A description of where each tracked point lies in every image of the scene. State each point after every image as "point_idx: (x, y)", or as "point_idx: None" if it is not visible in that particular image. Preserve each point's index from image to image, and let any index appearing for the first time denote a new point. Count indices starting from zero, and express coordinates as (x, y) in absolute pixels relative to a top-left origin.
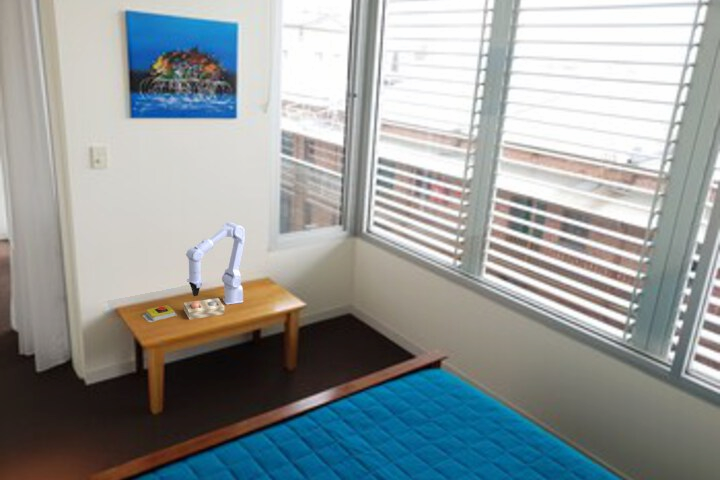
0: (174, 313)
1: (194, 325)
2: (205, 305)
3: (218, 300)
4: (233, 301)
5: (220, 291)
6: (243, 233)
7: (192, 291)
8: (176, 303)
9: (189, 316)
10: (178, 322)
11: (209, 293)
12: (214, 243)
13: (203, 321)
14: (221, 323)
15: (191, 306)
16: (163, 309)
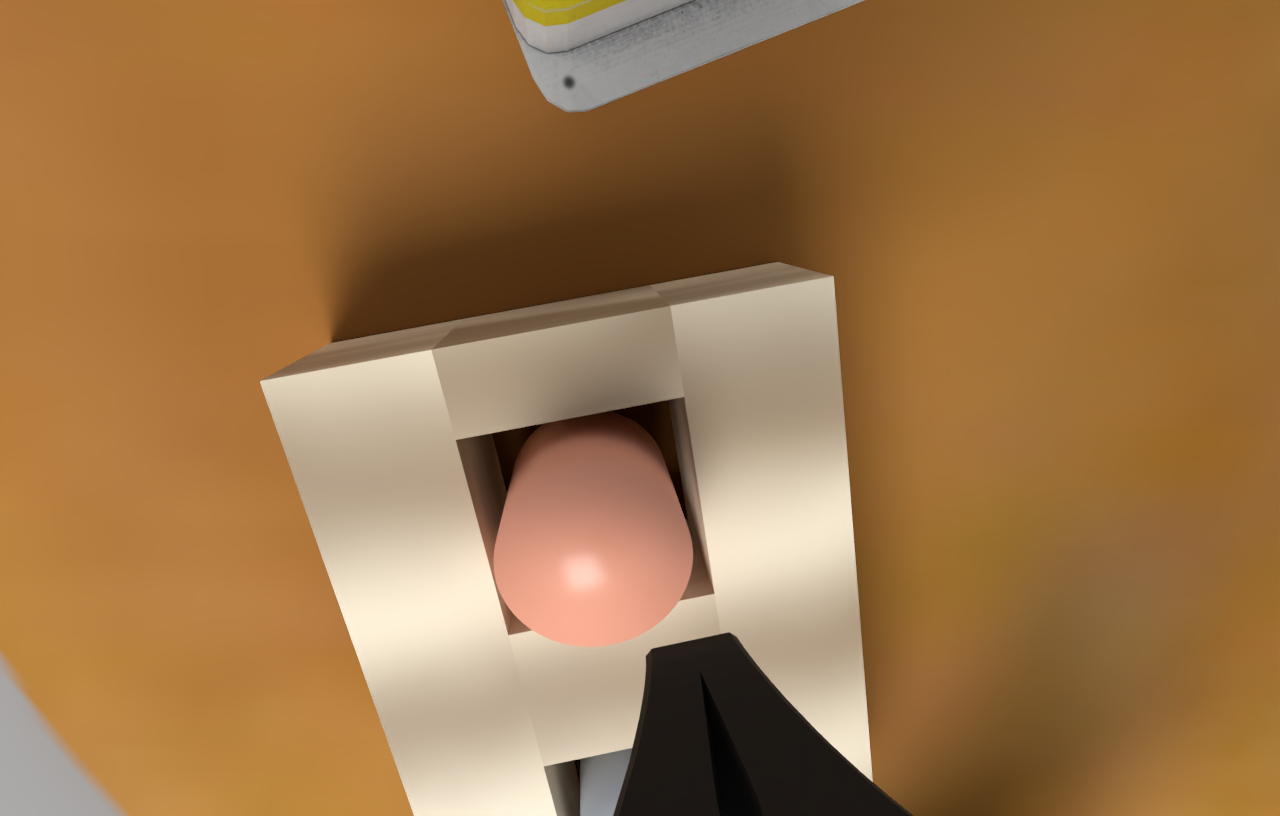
0: (643, 57)
1: (62, 422)
2: (593, 707)
3: None
4: None
5: (1261, 810)
6: None
7: (733, 737)
8: (1108, 132)
9: (304, 360)
10: (204, 119)
11: (1265, 678)
12: None
13: (236, 572)
14: (151, 813)
15: (564, 446)
16: None
